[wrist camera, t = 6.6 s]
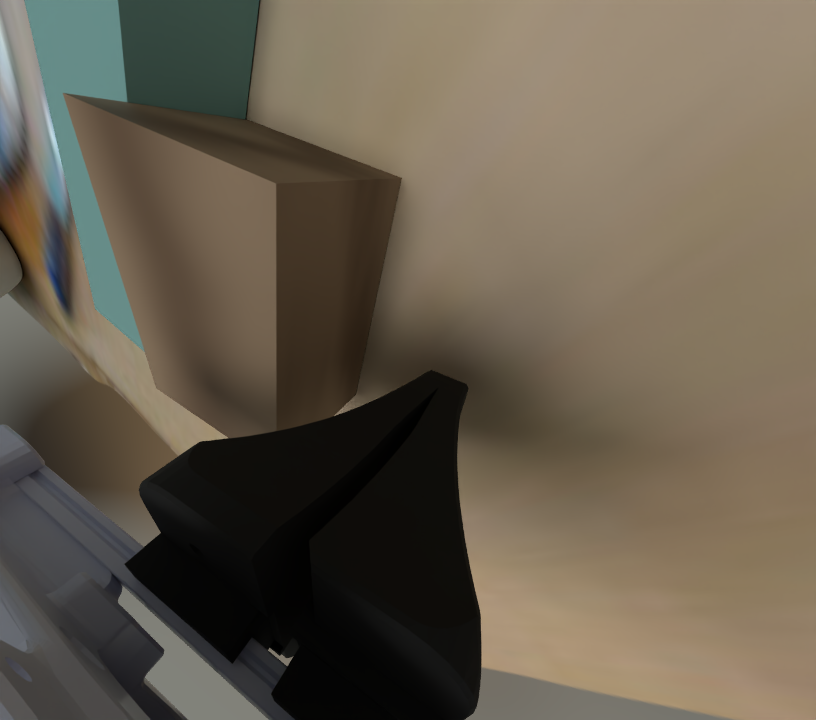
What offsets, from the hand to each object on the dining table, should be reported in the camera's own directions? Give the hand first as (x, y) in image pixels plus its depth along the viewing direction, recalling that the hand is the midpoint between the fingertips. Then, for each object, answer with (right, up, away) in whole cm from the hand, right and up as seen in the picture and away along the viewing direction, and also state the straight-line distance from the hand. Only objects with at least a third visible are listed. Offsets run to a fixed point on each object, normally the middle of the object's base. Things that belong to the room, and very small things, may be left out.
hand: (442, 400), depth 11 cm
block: (-5, +5, +2) cm, 7 cm away
